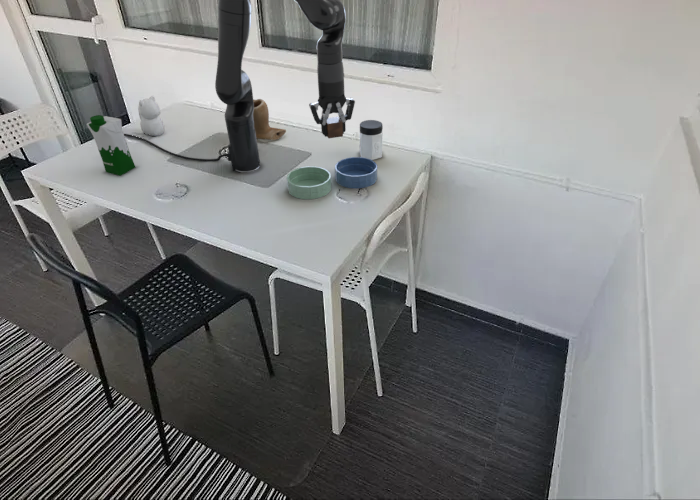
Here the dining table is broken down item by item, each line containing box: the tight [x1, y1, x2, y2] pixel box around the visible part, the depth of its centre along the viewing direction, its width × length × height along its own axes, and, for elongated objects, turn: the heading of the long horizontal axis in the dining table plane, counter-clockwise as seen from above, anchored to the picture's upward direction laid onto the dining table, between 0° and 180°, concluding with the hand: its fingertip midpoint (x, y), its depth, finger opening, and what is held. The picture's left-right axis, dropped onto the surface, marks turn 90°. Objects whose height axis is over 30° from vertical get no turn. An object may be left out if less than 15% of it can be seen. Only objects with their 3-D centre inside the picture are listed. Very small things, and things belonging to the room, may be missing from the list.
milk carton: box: [86, 114, 136, 177], centre depth 155 cm, size 9×9×20 cm
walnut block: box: [326, 116, 344, 139], centre depth 138 cm, size 5×5×5 cm
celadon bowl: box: [286, 165, 332, 200], centre depth 146 cm, size 14×14×5 cm
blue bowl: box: [334, 156, 378, 189], centre depth 151 cm, size 14×14×5 cm
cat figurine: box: [137, 95, 165, 137], centre depth 183 cm, size 9×12×15 cm
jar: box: [359, 119, 384, 161], centre depth 164 cm, size 9×8×12 cm
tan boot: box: [253, 98, 287, 141], centre depth 178 cm, size 15×12×15 cm
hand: (333, 134), depth 140 cm, fingers closed on walnut block, 4 cm apart
